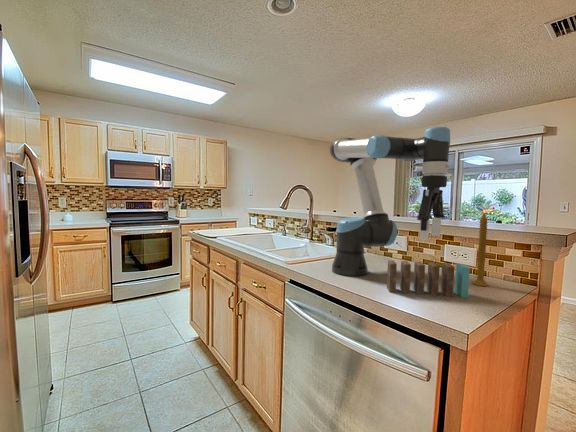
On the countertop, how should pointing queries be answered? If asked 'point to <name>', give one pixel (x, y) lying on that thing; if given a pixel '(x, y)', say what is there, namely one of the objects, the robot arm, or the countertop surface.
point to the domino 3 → (419, 277)
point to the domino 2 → (405, 277)
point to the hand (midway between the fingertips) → (429, 238)
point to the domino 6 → (462, 280)
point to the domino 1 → (391, 276)
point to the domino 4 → (433, 278)
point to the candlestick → (481, 251)
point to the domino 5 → (447, 279)
